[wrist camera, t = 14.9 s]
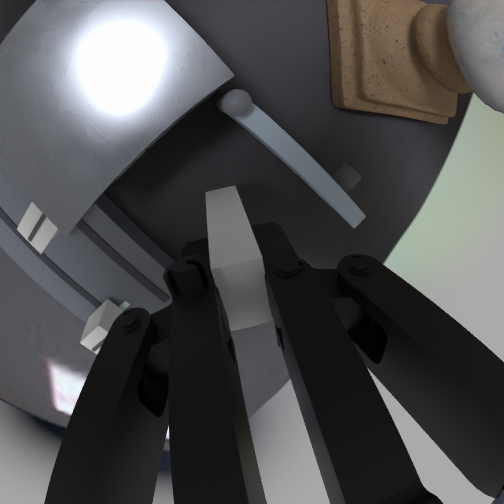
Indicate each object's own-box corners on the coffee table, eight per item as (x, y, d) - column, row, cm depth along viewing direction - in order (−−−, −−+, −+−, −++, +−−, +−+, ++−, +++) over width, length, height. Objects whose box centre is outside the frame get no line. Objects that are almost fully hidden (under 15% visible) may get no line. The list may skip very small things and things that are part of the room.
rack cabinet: (34, 97, 12) (-38, 110, 6) (134, -4, 10) (97, -53, 4) (112, 184, 17) (66, 237, 11) (222, 87, 15) (234, 75, 9)
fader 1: (37, 210, 15) (15, 229, 12) (59, 178, 14) (35, 194, 11) (59, 232, 16) (40, 255, 13) (82, 202, 15) (62, 222, 13)
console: (-15, 205, 15) (-28, 215, 13) (35, 112, 13) (20, 115, 11) (147, 347, 26) (145, 363, 24) (220, 297, 24) (222, 313, 22)
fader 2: (89, 316, 20) (79, 343, 17) (107, 298, 19) (98, 326, 17) (110, 332, 21) (103, 359, 18) (130, 315, 20) (124, 344, 18)
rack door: (316, 194, 20) (358, 235, 14) (212, 104, 16) (216, 104, 10) (340, 169, 19) (391, 201, 14) (240, 74, 15) (260, 59, 9)
